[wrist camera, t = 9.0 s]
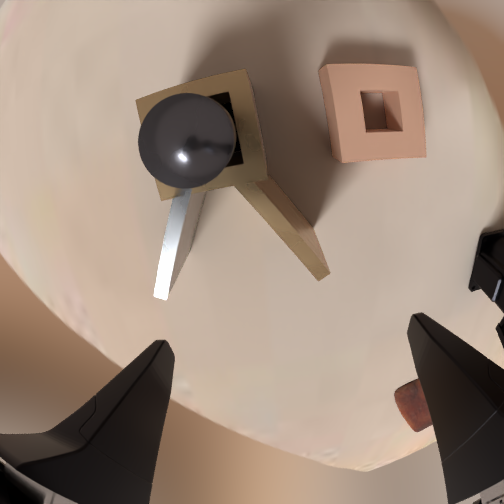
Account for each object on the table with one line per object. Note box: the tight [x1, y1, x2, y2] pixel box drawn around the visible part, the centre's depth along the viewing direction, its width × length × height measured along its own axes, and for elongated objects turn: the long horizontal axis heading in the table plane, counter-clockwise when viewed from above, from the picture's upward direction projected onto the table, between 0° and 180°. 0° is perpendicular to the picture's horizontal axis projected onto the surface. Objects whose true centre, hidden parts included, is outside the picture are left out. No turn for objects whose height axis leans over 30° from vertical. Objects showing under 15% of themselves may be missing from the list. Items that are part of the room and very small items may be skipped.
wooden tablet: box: [394, 379, 432, 432], centre depth 33 cm, size 27×10×2 cm, turn 34°
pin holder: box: [318, 64, 426, 163], centre depth 14 cm, size 6×6×2 cm
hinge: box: [136, 69, 330, 300], centre depth 15 cm, size 10×11×6 cm
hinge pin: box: [138, 93, 236, 189], centre depth 13 cm, size 4×4×8 cm
